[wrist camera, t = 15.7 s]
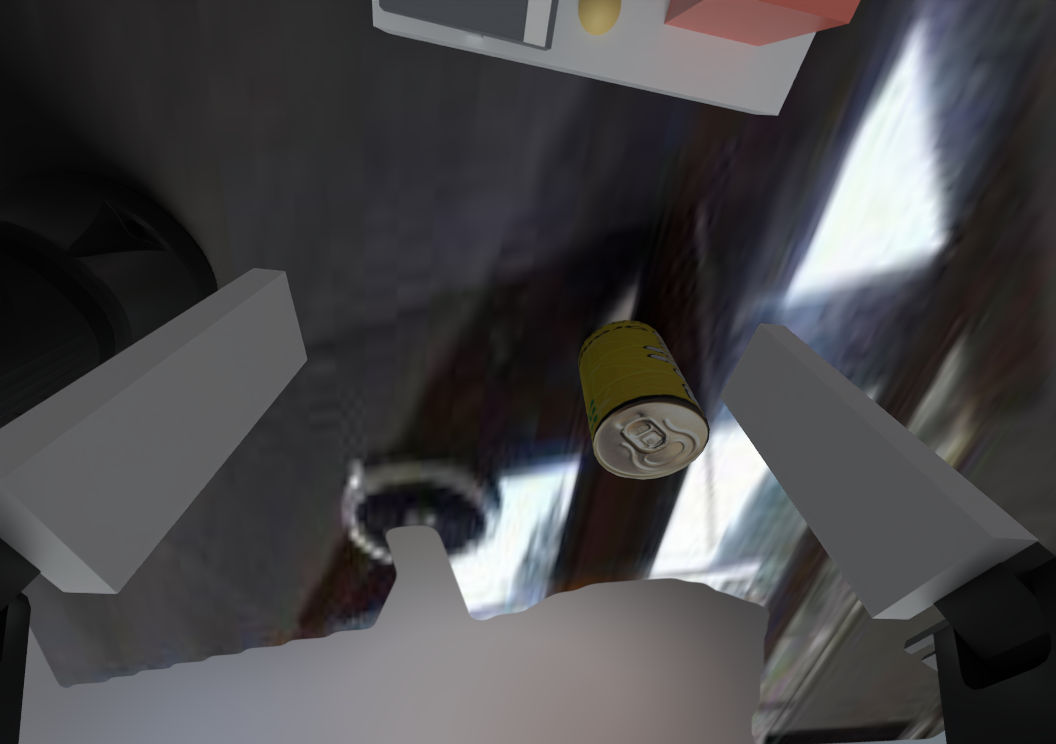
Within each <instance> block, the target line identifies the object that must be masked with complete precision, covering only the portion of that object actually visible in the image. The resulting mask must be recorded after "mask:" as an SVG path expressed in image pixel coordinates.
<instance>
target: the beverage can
mask: <svg viewBox="0 0 1056 744" xmlns="http://www.w3.org/2000/svg"><path fill="white" fill-rule="evenodd" d="M578 364H579V371H580V376H581V382H582V388H583V393H584V399H585V404H586V410H587V415H588V421H589V427H590V432H591V438H592V443H593V449H594V454H595V456H596V458H597V460H598V462H599V463H600V464H601V465H602V466H603V467H604V468H605V469H606V470H608V471H610V472H612V473H614V474H616V475H618V476H622V477H626V478H630V479H651V478H658V477H662V476H666V475H669V474H672V473H674V472H676V471H678V470H681V469H683V468H685V467H686V466H687V465H689V464H690V463H691V462H693V461H694V460H695V459H696V458H697V457H698V456H699V455H700V454H701V453H702V452H703V450H704V448H705V446H706V444H707V442H708V440H709V431H710V429H709V425H708V422H707V419H706V417H705V415H704V413H703V411H702V410H701V408H700V406H699V404H698V402H697V401H696V399H695V397H694V395H693V393H692V392H691V390H690V388H689V386H688V384H687V383H686V381H685V379H684V377H683V375H682V374H681V372H680V370H679V368H678V366H677V365H676V363H675V361H674V359H673V357H672V356H671V354H670V352H669V350H668V348H667V347H666V345H665V343H664V341H663V339H662V338H661V337H660V335H659V334H658V333H657V331H656V330H654V329H653V328H651V327H650V326H649V325H647V324H644V323H641V322H638V321H627V320H624V321H618V322H612V323H610V324H607V325H605V326H602V327H601V328H599V329H598V330H596V331H595V332H593V333H592V334H591V335H590V336H589V337H588V338H587V340H586V341H585V342H584V344H583V346H582V348H581V350H580V353H579V358H578Z"/></svg>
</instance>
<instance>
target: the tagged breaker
mask: <svg viewBox="0 0 1056 744" xmlns="http://www.w3.org/2000/svg"><path fill="white" fill-rule="evenodd" d="M558 2H559V0H379V6H380V8H381V9H382V10H383V11H385V12H389V13H393V14H397V15H401V16H406V17H410V18H414V19H418V20H422V21H426V22H430V23H434V24H438V25H442V26H446V27H450V28H454V29H458V30H462V31H466V32H470V33H474V34H479V35H483V36H487V37H491V38H495V39H499V40H503V41H507V42H511V43H515V44H519V45H523V46H527V47H531V48H535V49H539V50H543V51H547V50H549V49H551V46H552V40H553V34H554V28H555V21H556V15H557V9H558Z"/></svg>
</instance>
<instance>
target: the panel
mask: <svg viewBox="0 0 1056 744" xmlns="http://www.w3.org/2000/svg"><path fill="white" fill-rule="evenodd" d="M670 1H671V0H559V2H558V9H557V15H556V21H555V28H554V34H553V40H552V46H551V49H549V50H547V51H543V50H539V49H535V48H531V47H527V46H523V45H519V44H515V43H511V42H507V41H503V40H499V39H495V38H491V37H487V36H483V35H479V34H474V33H470V32H466V31H462V30H458V29H454V28H450V27H446V26H442V25H438V24H434V23H430V22H426V21H422V20H418V19H414V18H410V17H406V16H401V15H397V14H393V13H389V12H385V11H383V10H382V9H381V8H380V6H379V0H372V6H373V26H375V27H377V28H379V29H381V30H383V31H385V32H387V33H389V34H394V35H398V36H403V37H407V38H412V39H417V40H421V41H426V42H430V43H435V44H439V45H444V46H448V47H453V48H457V49H462V50H466V51H471V52H475V53H480V54H484V55H489V56H494V57H498V58H503V59H507V60H512V61H516V62H521V63H525V64H530V65H534V66H539V67H543V68H548V69H552V70H557V71H561V72H566V73H571V74H575V75H580V76H584V77H589V78H593V79H598V80H602V81H607V82H611V83H616V84H620V85H625V86H629V87H634V88H638V89H643V90H648V91H652V92H657V93H661V94H666V95H670V96H675V97H679V98H684V99H688V100H693V101H697V102H702V103H706V104H711V105H715V106H720V107H725V108H729V109H734V110H738V111H743V112H747V113H752V114H759V115H778V114H779V112H780V109H781V107H782V105H783V103H784V101H785V98H786V96H787V94H788V92H789V90H790V88H791V85H792V83H793V81H794V79H795V77H796V75H797V72H798V70H799V68H800V66H801V64H802V61H803V59H804V57H805V55H806V53H807V51H808V48H809V46H810V44H811V42H812V40H813V37H814V35H815V33H816V32H813V33H809V34H805V35H801V36H797V37H793V38H789V39H785V40H782V41H778V42H774V43H770V44H766V45H762V46H755V45H750V44H746V43H742V42H738V41H733V40H729V39H725V38H721V37H717V36H712V35H708V34H704V33H700V32H695V31H691V30H687V29H683V28H679V27H674V26H670V25H666V24H664V22H665V19H666V15H667V12H668V8H669V5H670Z"/></svg>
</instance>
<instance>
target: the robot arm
mask: <svg viewBox="0 0 1056 744" xmlns="http://www.w3.org/2000/svg"><path fill="white" fill-rule="evenodd" d="M306 361H307V356H306V352H305V348H304V344H303V340H302V336H301V332H300V328H299V324H298V321H297V317H296V313H295V309H294V305H293V301H292V297H291V293H290V289H289V285H288V281H287V277H286V273H285V271H276V270H267V269H258V268H253V269H251V270H250V271H248V272H247V273H245V274H244V275H242V276H240V277H239V278H237V279H236V280H234V281H232V282H231V283H229V284H228V285H226V286H225V287H223V288H221V289H220V290H218V291H217V287H216V283H215V279H214V277H213V274H212V271H211V269H210V267H209V265H208V263H207V261H206V259H205V258H204V256H203V254H202V253H201V251H200V250H199V248H198V247H197V246H196V244H195V243H194V242H193V241H192V239H191V238H190V237H189V236H188V235H187V234H186V232H185V231H184V230H183V229H182V228H181V227H180V226H179V225H178V224H177V223H176V222H175V221H174V220H173V219H171V218H170V217H169V216H168V215H167V214H166V213H164V212H163V211H162V210H161V209H159V208H158V207H157V206H155V205H154V204H153V203H151V202H150V201H148V200H147V199H145V198H144V197H142V196H141V195H139V194H137V193H135V192H134V191H132V190H130V189H128V188H126V187H124V186H122V185H120V184H118V183H115V182H113V181H110V180H108V179H105V178H102V177H99V176H95V175H91V174H87V173H81V172H73V171H60V172H51V173H44V174H38V175H31V176H26V177H22V178H19V179H16V180H13V181H11V182H9V183H7V184H5V185H4V186H2V187H1V188H0V744H18V743H19V731H20V721H21V710H22V698H23V688H24V677H25V676H24V675H25V666H26V655H27V645H28V633H29V623H30V612H31V607H30V604H29V601H28V597H27V596H25V595H24V594H23V593H21V591H22V590H23V589H24V588H25V587H26V586H27V585H28V584H29V583H30V582H31V581H32V580H33V579H34V578H35V577H36V576H37V575H38V574H39V573H41V574H42V575H43V576H45V577H46V578H47V579H48V580H49V581H51V582H52V583H53V584H54V585H56V586H57V587H58V588H59V589H61V590H62V591H63V592H76V593H107V594H118V593H119V591H120V590H121V589H122V588H123V586H124V585H125V584H126V583H127V581H128V580H129V579H130V578H131V576H132V575H133V574H134V573H135V572H136V570H137V569H138V568H139V567H140V565H141V564H142V563H143V562H144V560H145V559H146V558H147V557H148V556H149V554H150V553H151V552H152V551H153V549H154V548H155V547H156V546H157V544H158V543H159V542H160V541H161V540H162V538H163V537H164V536H165V535H166V533H167V532H168V531H169V530H170V528H171V527H172V526H173V525H174V523H175V522H176V521H177V520H178V519H179V517H180V516H181V515H182V514H183V512H184V511H185V510H186V509H187V507H188V506H189V505H190V504H191V503H192V501H193V500H194V499H195V498H196V496H197V495H198V494H199V493H200V491H201V490H202V489H203V488H204V486H205V485H206V484H207V483H208V482H209V480H210V479H211V478H212V477H213V475H214V474H215V473H216V472H217V470H218V469H219V468H220V467H221V466H222V464H223V463H224V462H225V461H226V459H227V458H228V457H229V456H230V454H231V453H232V452H233V451H234V450H235V448H236V447H237V446H238V445H239V443H240V442H241V441H242V440H243V438H244V437H245V436H246V435H247V433H248V432H249V431H250V430H251V429H252V427H253V426H254V425H255V424H256V422H257V421H258V420H259V419H260V417H261V416H262V415H263V414H264V413H265V411H266V410H267V409H268V408H269V406H270V405H271V404H272V403H273V401H274V400H275V399H276V398H277V397H278V395H279V394H280V393H281V392H282V390H283V389H284V388H285V387H286V385H287V384H288V383H289V382H290V380H291V379H292V378H293V377H294V376H295V374H296V373H297V372H298V371H299V369H300V368H301V367H302V366H303V364H304V363H305V362H306ZM720 397H721V399H722V400H723V401H724V403H725V404H726V406H727V407H728V409H729V410H730V412H731V413H732V415H733V416H734V417H735V419H736V420H737V422H738V423H739V425H740V426H741V428H742V429H743V431H744V432H745V434H746V435H747V436H748V438H749V439H750V441H751V442H752V444H753V445H754V447H755V448H756V450H757V451H758V452H759V454H760V455H761V457H762V458H763V460H764V461H765V463H766V464H767V466H768V467H769V468H770V470H771V471H772V473H773V474H774V476H775V477H776V479H777V480H778V482H779V483H780V484H781V486H782V487H783V489H784V490H785V492H786V493H787V495H788V496H789V498H790V499H791V500H792V502H793V503H794V505H795V506H796V508H797V509H798V511H799V512H800V514H801V515H802V517H803V518H804V519H805V521H806V522H807V524H808V525H809V527H810V528H811V530H812V531H813V533H814V534H815V535H816V537H817V538H818V540H819V541H820V543H821V544H822V546H823V547H824V549H825V550H826V551H827V553H828V554H829V556H830V557H831V559H832V560H833V562H834V563H835V565H836V566H837V567H838V569H839V570H840V572H841V573H842V575H843V576H844V578H845V579H846V581H847V582H848V584H849V585H850V586H851V588H852V589H853V591H854V592H855V594H856V595H857V597H858V598H859V600H860V601H861V602H862V604H863V605H864V607H865V608H866V610H867V611H868V613H869V614H870V616H871V617H872V618H880V619H910V618H912V617H913V616H915V615H917V614H918V613H920V612H922V611H923V610H925V609H927V608H928V607H930V606H931V605H933V604H934V605H935V606H936V607H937V608H938V610H939V611H940V612H941V613H942V614H943V616H944V617H945V618H946V619H944V620H942V621H941V622H939V623H937V624H935V625H934V626H932V627H930V628H928V629H927V630H925V631H923V632H921V633H919V634H918V635H916V636H914V637H912V638H911V639H909V640H907V641H906V643H905V647H904V650H905V651H907V652H908V653H910V654H912V653H914V652H916V651H918V650H920V649H922V648H924V647H925V646H929V647H932V648H935V651H933V652H931V653H929V654H928V655H926V656H924V657H923V658H922V659H921V661H922V662H924V663H925V664H927V665H929V666H930V667H932V668H933V669H935V670H936V671H938V678H939V686H940V694H941V702H942V710H943V718H944V726H945V734H946V742H947V744H1056V556H1055V555H1054V554H1052V553H1051V552H1050V551H1048V550H1047V549H1046V548H1045V547H1043V546H1042V545H1041V544H1040V543H1039V542H1037V541H1038V539H1037V538H1036V537H1034V536H1033V535H1032V534H1031V533H1030V532H1028V531H1027V530H1026V529H1025V528H1024V527H1022V526H1021V525H1020V524H1019V523H1018V522H1017V521H1015V520H1014V519H1013V518H1012V517H1011V516H1009V515H1008V514H1007V513H1006V512H1005V511H1003V510H1002V509H1001V508H1000V507H999V506H998V505H996V504H995V503H994V502H993V501H992V500H990V499H989V498H988V497H987V496H986V495H984V494H983V493H982V492H981V491H980V490H979V489H977V488H976V487H975V486H974V485H973V484H971V483H970V482H969V481H968V480H967V479H965V478H964V477H963V476H962V475H961V474H960V473H958V472H957V471H956V470H955V469H954V468H952V467H951V466H950V465H949V464H948V463H946V462H945V461H944V460H943V459H942V458H941V457H939V456H938V455H937V454H936V453H935V452H933V451H932V450H931V449H930V448H929V447H927V446H926V445H925V444H924V443H923V442H922V441H920V440H919V439H918V438H917V437H916V436H914V435H913V434H912V433H911V432H910V431H908V430H907V429H906V428H905V427H904V426H903V425H901V424H900V423H899V422H898V421H897V420H895V419H894V418H893V417H892V416H891V415H889V414H888V413H887V412H886V411H885V410H884V409H882V408H881V407H880V406H879V405H878V404H876V403H875V402H874V401H873V400H872V399H870V398H869V397H868V396H867V395H866V394H865V393H863V392H862V391H861V390H860V389H859V388H857V387H856V386H855V385H854V384H853V383H851V382H850V381H849V380H848V379H847V378H846V377H844V376H843V375H842V374H841V373H840V372H838V371H837V370H836V369H835V368H834V367H832V366H831V365H830V364H829V363H828V362H827V361H825V360H824V359H823V358H822V357H821V356H819V355H818V354H817V353H816V352H815V351H813V350H812V349H811V348H810V347H809V346H808V345H806V344H805V343H804V342H803V341H802V340H800V339H799V338H798V337H797V336H796V335H794V334H793V333H792V332H791V331H790V330H789V329H787V328H786V327H785V326H780V325H771V324H762V323H760V324H759V326H758V327H757V329H756V331H755V333H754V335H753V337H752V338H751V340H750V342H749V344H748V346H747V348H746V349H745V351H744V353H743V355H742V357H741V359H740V360H739V362H738V364H737V366H736V368H735V370H734V371H733V373H732V375H731V377H730V379H729V381H728V382H727V384H726V386H725V388H724V390H723V392H722V394H721V395H720Z"/></svg>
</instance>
